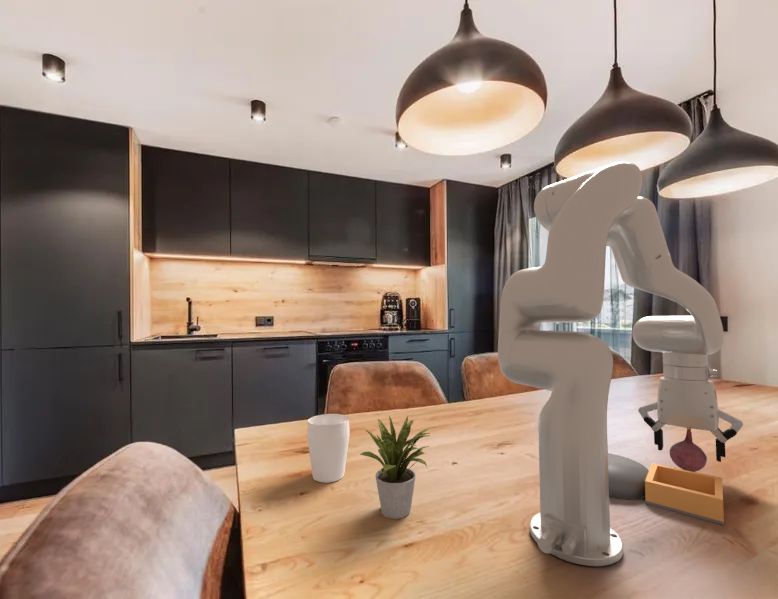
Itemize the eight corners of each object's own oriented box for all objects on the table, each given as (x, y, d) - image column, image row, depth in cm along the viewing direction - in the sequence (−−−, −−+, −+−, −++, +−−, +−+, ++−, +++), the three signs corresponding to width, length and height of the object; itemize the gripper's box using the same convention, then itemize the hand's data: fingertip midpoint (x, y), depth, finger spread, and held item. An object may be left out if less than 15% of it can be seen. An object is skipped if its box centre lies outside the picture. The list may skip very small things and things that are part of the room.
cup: (337, 488, 73) (337, 427, 74) (298, 481, 76) (298, 423, 77) (356, 470, 82) (356, 415, 82) (321, 464, 85) (321, 412, 85)
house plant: (436, 544, 56) (434, 434, 56) (347, 535, 58) (346, 429, 58) (440, 497, 70) (438, 409, 70) (368, 491, 72) (367, 407, 73)
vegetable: (711, 483, 74) (709, 433, 75) (673, 476, 77) (671, 428, 78) (703, 471, 80) (701, 425, 80) (668, 466, 83) (666, 421, 83)
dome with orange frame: (724, 529, 58) (723, 504, 59) (560, 483, 75) (560, 463, 75) (722, 496, 69) (721, 474, 69) (579, 462, 85) (578, 444, 85)
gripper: (739, 374, 76) (743, 458, 76) (639, 367, 88) (642, 440, 87) (741, 380, 71) (746, 471, 70) (634, 371, 82) (637, 449, 82)
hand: (688, 453), depth 79 cm, fingers open, 9 cm apart
